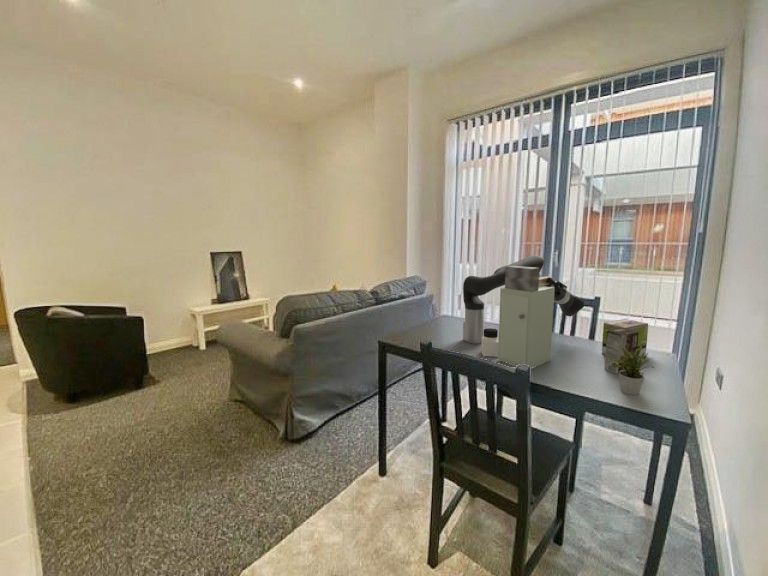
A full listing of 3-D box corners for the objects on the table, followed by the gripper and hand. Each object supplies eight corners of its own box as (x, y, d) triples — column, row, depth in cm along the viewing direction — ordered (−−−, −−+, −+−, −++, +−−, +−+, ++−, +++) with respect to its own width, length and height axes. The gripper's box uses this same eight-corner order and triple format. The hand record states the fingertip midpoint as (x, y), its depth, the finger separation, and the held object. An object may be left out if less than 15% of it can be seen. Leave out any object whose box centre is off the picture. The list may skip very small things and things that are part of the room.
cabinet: (495, 361, 150) (498, 288, 144) (521, 351, 160) (524, 283, 155) (525, 371, 138) (529, 293, 133) (550, 360, 149) (554, 287, 144)
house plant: (611, 377, 131) (615, 336, 128) (657, 389, 121) (662, 344, 119) (600, 389, 122) (603, 345, 119) (648, 403, 112) (654, 355, 109)
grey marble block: (504, 287, 145) (505, 266, 144) (536, 281, 159) (537, 262, 157) (531, 291, 136) (532, 268, 134) (562, 284, 149) (564, 264, 148)
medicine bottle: (499, 357, 154) (499, 331, 152) (482, 356, 155) (483, 330, 153) (497, 351, 161) (498, 326, 159) (481, 351, 162) (481, 326, 160)
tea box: (623, 348, 161) (626, 317, 159) (646, 355, 152) (650, 323, 149) (600, 353, 156) (603, 321, 154) (622, 361, 147) (625, 327, 144)
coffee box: (620, 365, 142) (624, 327, 139) (635, 371, 136) (639, 332, 133) (603, 368, 140) (606, 330, 137) (617, 374, 134) (621, 334, 131)
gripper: (545, 284, 166) (529, 269, 156) (576, 288, 154) (560, 272, 144) (540, 298, 165) (523, 284, 155) (571, 303, 153) (554, 288, 143)
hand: (541, 278), depth 150 cm, fingers open, 5 cm apart
